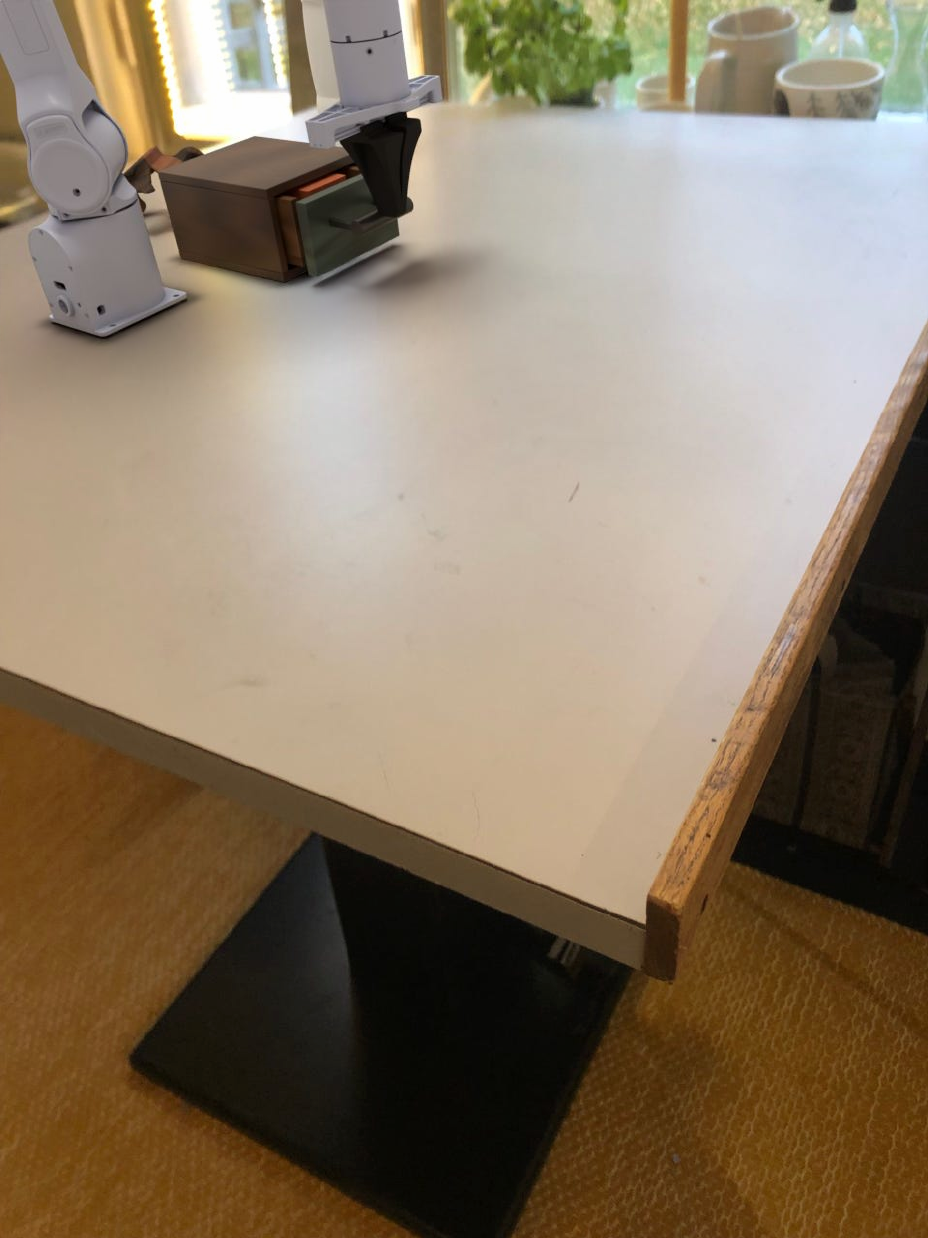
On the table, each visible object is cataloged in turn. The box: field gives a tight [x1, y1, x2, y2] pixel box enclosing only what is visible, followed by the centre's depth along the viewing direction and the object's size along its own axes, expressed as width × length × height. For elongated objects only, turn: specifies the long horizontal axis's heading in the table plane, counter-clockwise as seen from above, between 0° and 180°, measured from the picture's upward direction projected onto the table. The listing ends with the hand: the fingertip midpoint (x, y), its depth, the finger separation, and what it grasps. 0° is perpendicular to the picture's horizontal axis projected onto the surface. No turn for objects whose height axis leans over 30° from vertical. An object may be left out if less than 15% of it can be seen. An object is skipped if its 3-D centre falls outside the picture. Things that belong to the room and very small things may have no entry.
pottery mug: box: [122, 145, 205, 214], centre depth 105 cm, size 12×10×8 cm
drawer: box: [273, 165, 415, 278], centre depth 90 cm, size 18×11×6 cm, turn 53°
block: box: [278, 173, 346, 201], centre depth 90 cm, size 5×5×5 cm
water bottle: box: [300, 0, 343, 147], centre depth 111 cm, size 7×7×25 cm
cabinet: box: [157, 135, 356, 283], centre depth 94 cm, size 15×13×8 cm
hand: (393, 213), depth 85 cm, fingers closed, pressing on drawer
